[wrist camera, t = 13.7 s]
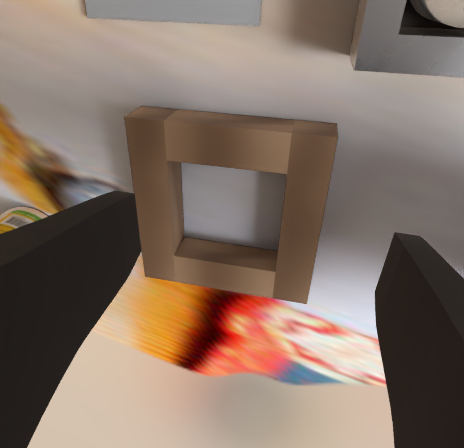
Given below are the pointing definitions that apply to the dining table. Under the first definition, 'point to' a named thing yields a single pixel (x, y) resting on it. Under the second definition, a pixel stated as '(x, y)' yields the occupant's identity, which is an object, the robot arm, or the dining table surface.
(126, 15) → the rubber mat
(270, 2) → the dining table surface
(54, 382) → the robot arm
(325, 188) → the walnut housing
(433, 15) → the plunger button
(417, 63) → the plunger collar
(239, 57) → the dining table surface
